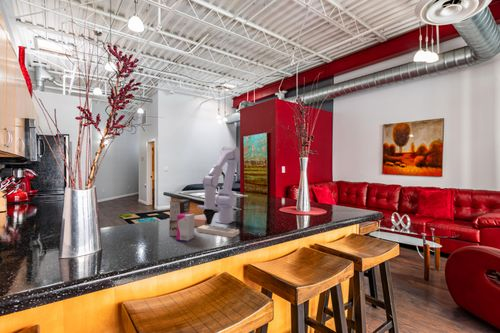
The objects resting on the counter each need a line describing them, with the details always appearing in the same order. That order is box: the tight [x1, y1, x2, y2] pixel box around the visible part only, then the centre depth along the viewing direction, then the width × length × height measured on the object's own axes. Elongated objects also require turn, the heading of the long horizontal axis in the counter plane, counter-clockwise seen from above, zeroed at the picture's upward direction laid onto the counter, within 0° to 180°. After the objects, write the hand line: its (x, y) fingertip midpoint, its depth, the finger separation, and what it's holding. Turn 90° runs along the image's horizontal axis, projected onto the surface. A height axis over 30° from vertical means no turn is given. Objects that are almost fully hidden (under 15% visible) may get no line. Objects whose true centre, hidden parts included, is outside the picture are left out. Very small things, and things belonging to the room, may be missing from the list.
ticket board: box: [196, 224, 240, 238], centre depth 129 cm, size 7×20×2 cm, turn 67°
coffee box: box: [168, 198, 191, 237], centre depth 125 cm, size 9×6×16 cm
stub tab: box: [194, 215, 211, 228], centre depth 141 cm, size 5×12×4 cm, turn 67°
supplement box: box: [176, 212, 195, 243], centre depth 117 cm, size 6×6×12 cm
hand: (209, 223), depth 139 cm, fingers closed
